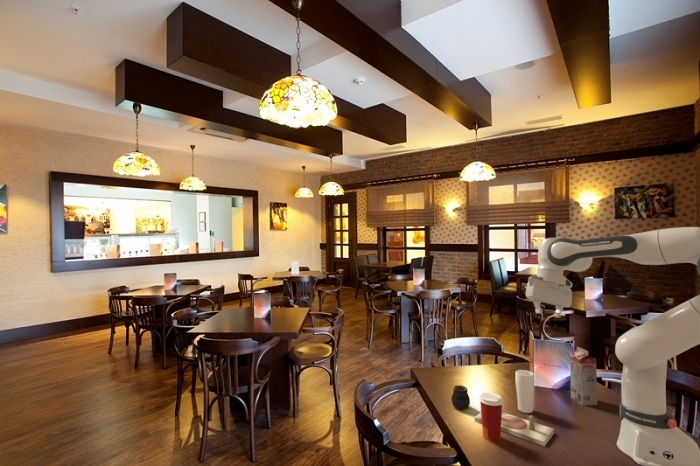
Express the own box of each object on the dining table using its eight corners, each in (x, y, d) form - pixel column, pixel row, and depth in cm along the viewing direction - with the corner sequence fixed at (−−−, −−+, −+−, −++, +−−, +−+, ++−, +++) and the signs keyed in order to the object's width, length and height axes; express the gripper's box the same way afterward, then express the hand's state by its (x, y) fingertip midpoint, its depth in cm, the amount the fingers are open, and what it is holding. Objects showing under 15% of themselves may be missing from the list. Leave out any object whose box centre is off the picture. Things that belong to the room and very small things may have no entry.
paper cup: (507, 437, 123) (506, 396, 123) (498, 446, 118) (497, 403, 118) (485, 428, 129) (484, 389, 129) (475, 437, 123) (474, 396, 124)
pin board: (554, 433, 125) (553, 416, 125) (544, 446, 118) (544, 428, 118) (487, 410, 142) (486, 395, 142) (474, 421, 134) (474, 405, 134)
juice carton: (581, 405, 146) (580, 351, 146) (571, 398, 153) (569, 346, 153) (597, 404, 146) (596, 351, 147) (586, 397, 153) (584, 346, 153)
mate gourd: (472, 406, 146) (471, 381, 147) (467, 413, 140) (466, 388, 140) (454, 401, 150) (454, 378, 150) (449, 409, 144) (448, 384, 144)
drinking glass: (537, 415, 138) (536, 376, 138) (518, 414, 139) (517, 375, 140) (532, 407, 145) (531, 370, 145) (514, 406, 146) (513, 369, 146)
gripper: (536, 273, 132) (534, 311, 129) (575, 284, 138) (574, 320, 135) (522, 274, 137) (520, 310, 134) (560, 284, 144) (559, 319, 141)
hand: (547, 315), depth 135 cm, fingers open, 8 cm apart
